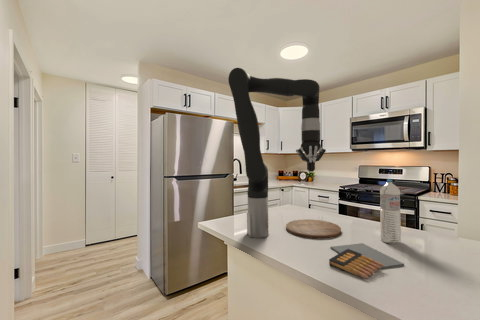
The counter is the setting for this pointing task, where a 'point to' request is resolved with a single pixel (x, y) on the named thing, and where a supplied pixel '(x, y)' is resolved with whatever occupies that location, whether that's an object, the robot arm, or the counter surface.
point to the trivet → (313, 229)
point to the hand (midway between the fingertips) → (311, 171)
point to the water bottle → (390, 213)
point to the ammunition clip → (355, 263)
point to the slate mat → (370, 254)
